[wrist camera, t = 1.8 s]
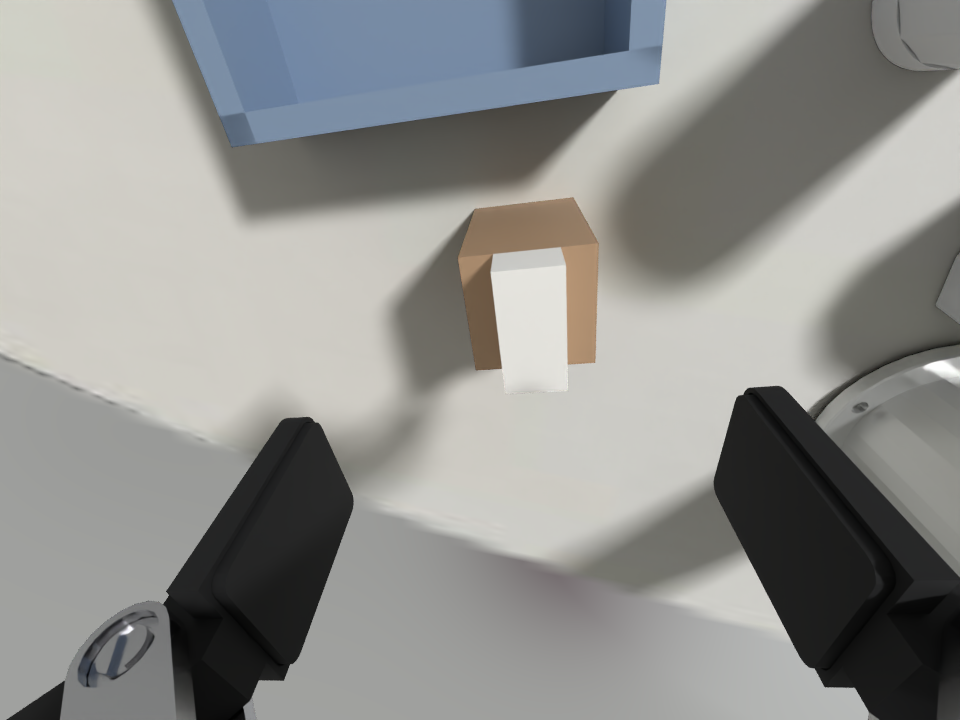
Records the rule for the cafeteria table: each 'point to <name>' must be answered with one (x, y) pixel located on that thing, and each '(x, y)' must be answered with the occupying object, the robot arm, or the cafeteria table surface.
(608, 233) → the cafeteria table surface
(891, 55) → the cup
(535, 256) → the brown and white block
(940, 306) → the toilet tissue
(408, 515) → the cafeteria table surface
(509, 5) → the tub
